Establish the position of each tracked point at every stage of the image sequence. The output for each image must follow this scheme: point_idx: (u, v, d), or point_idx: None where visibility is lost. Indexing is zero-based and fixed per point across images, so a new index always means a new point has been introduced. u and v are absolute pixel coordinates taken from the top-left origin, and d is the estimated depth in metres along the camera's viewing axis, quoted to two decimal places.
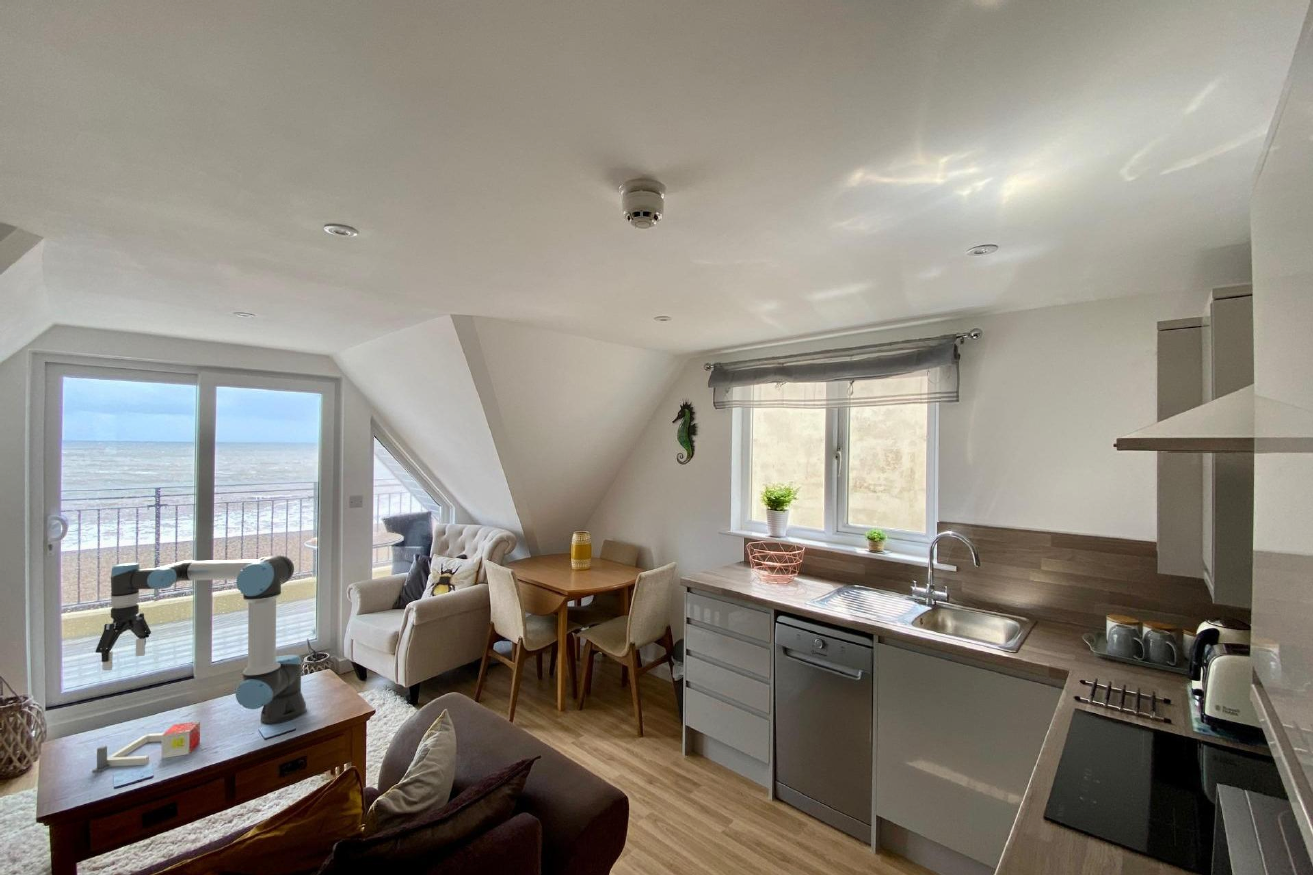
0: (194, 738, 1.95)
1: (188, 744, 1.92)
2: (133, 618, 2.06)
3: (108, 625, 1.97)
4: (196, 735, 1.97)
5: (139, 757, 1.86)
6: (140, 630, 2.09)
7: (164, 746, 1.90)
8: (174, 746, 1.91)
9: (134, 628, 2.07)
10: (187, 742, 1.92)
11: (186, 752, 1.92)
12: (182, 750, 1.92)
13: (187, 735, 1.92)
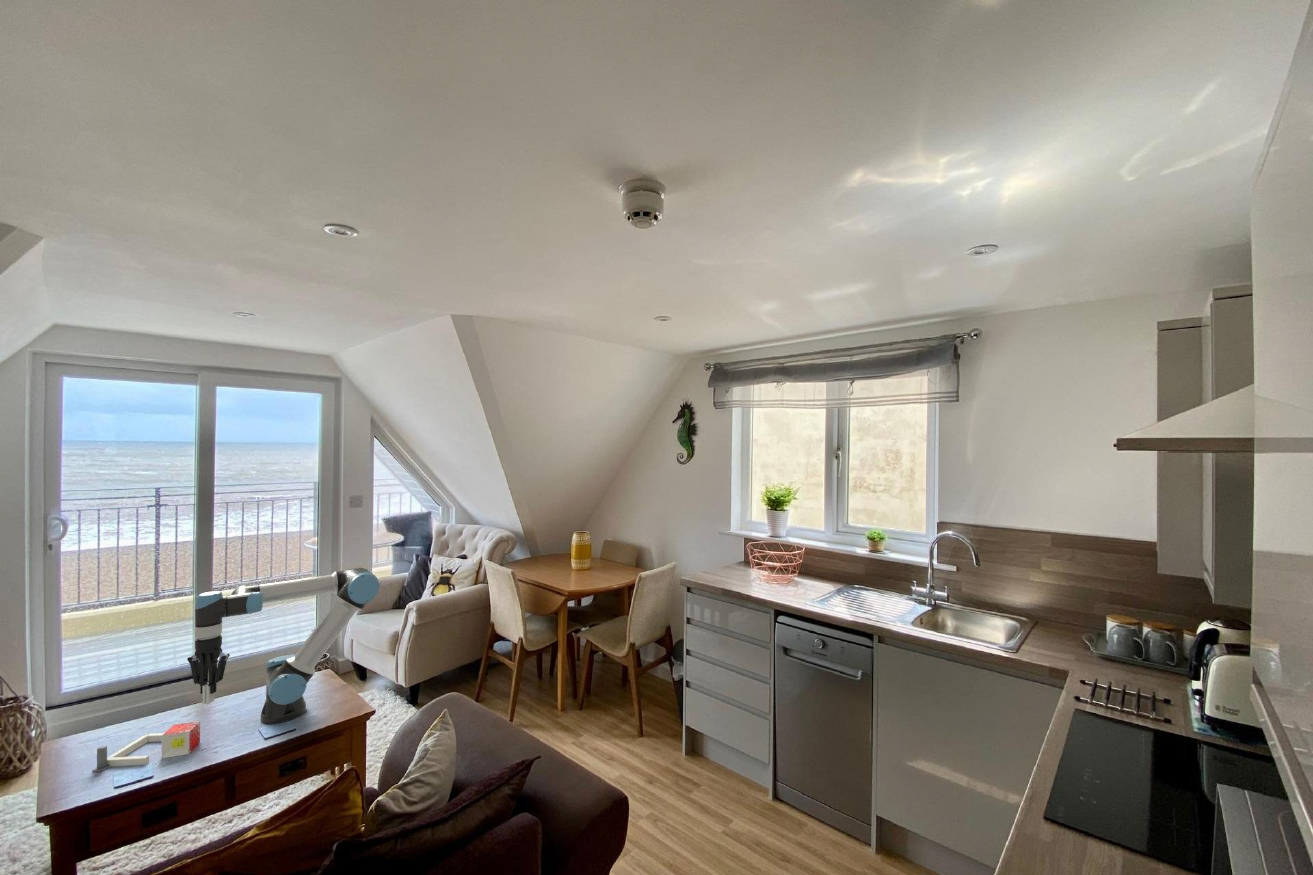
0: (194, 738, 1.95)
1: (188, 744, 1.92)
2: (213, 652, 1.95)
3: None
4: (196, 735, 1.97)
5: (139, 757, 1.86)
6: (210, 672, 1.95)
7: (164, 746, 1.90)
8: (174, 746, 1.91)
9: None
10: (187, 742, 1.92)
11: (186, 752, 1.92)
12: (182, 750, 1.92)
13: (187, 735, 1.92)
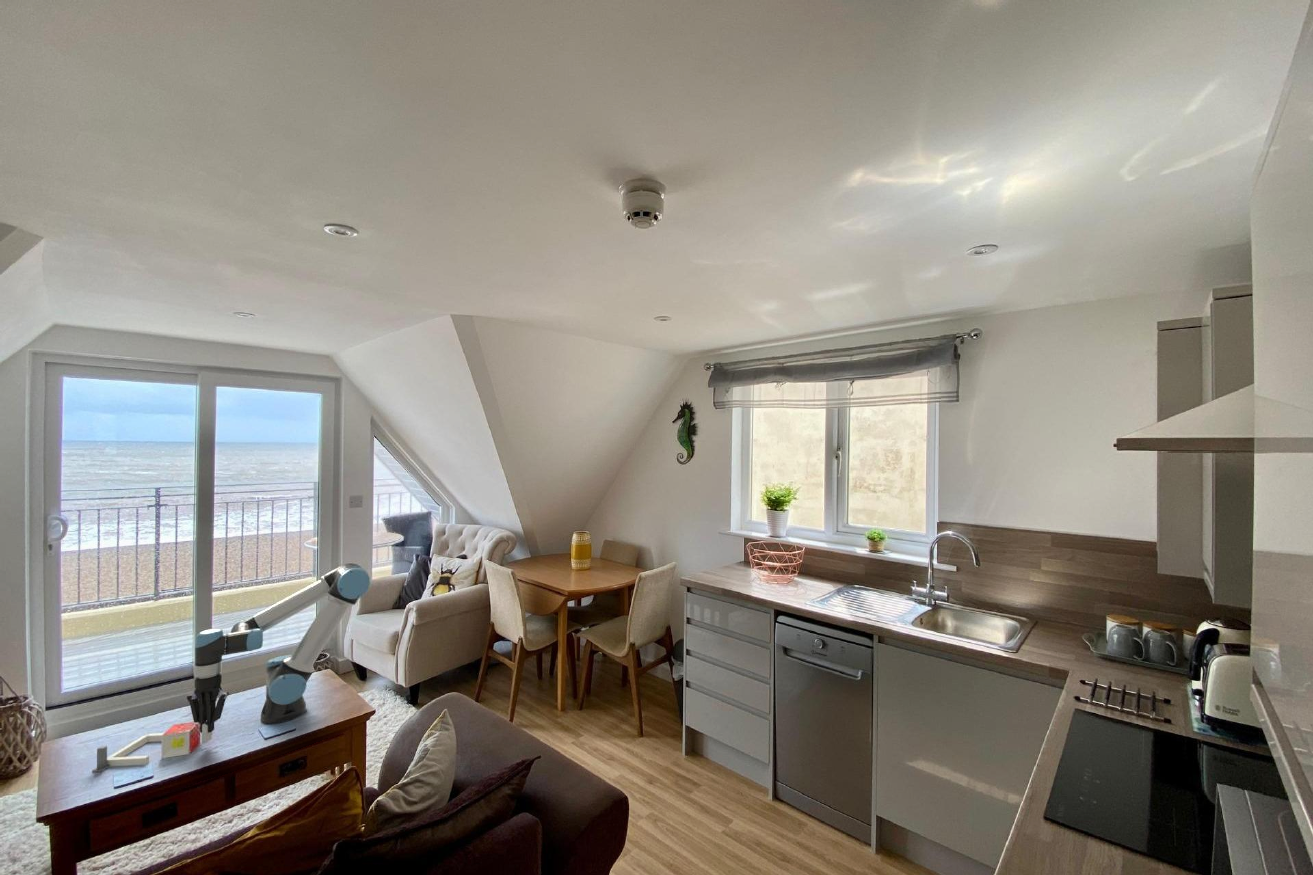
0: (194, 738, 1.95)
1: (188, 744, 1.92)
2: (212, 691, 1.95)
3: None
4: (196, 735, 1.97)
5: (139, 757, 1.86)
6: (209, 711, 1.94)
7: (164, 746, 1.90)
8: (174, 746, 1.91)
9: None
10: (187, 742, 1.92)
11: (186, 752, 1.92)
12: (182, 750, 1.92)
13: (187, 735, 1.92)
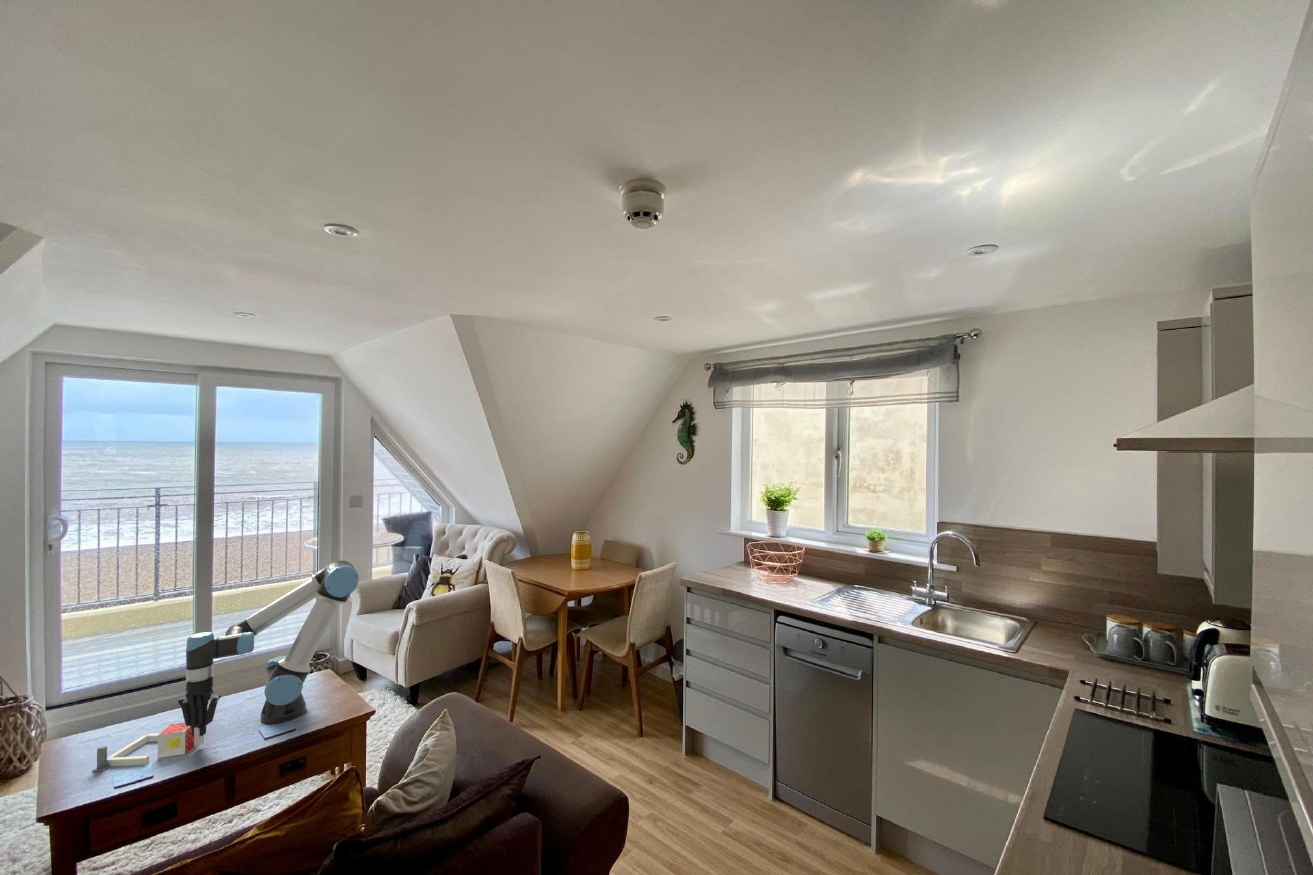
0: (190, 738, 1.95)
1: (184, 744, 1.92)
2: (204, 694, 1.94)
3: None
4: None
5: (139, 757, 1.86)
6: (200, 714, 1.94)
7: (160, 745, 1.90)
8: (170, 746, 1.91)
9: None
10: (183, 742, 1.92)
11: (182, 752, 1.92)
12: (178, 750, 1.92)
13: (183, 735, 1.92)
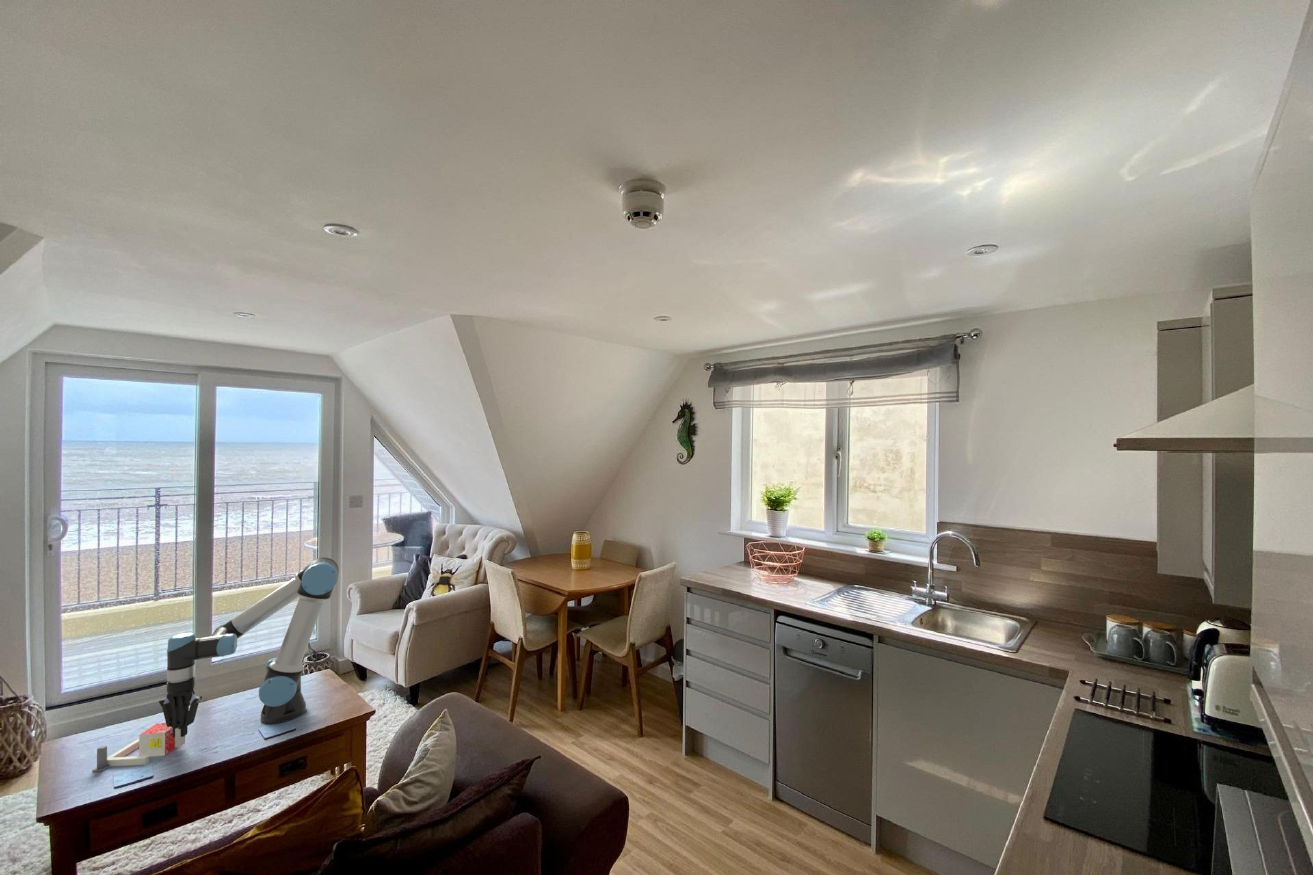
0: (172, 739, 1.95)
1: (164, 745, 1.91)
2: (185, 695, 1.94)
3: None
4: None
5: (139, 757, 1.86)
6: (181, 715, 1.93)
7: (142, 745, 1.90)
8: (152, 746, 1.91)
9: None
10: (163, 743, 1.92)
11: (162, 753, 1.91)
12: (159, 751, 1.92)
13: (163, 736, 1.92)
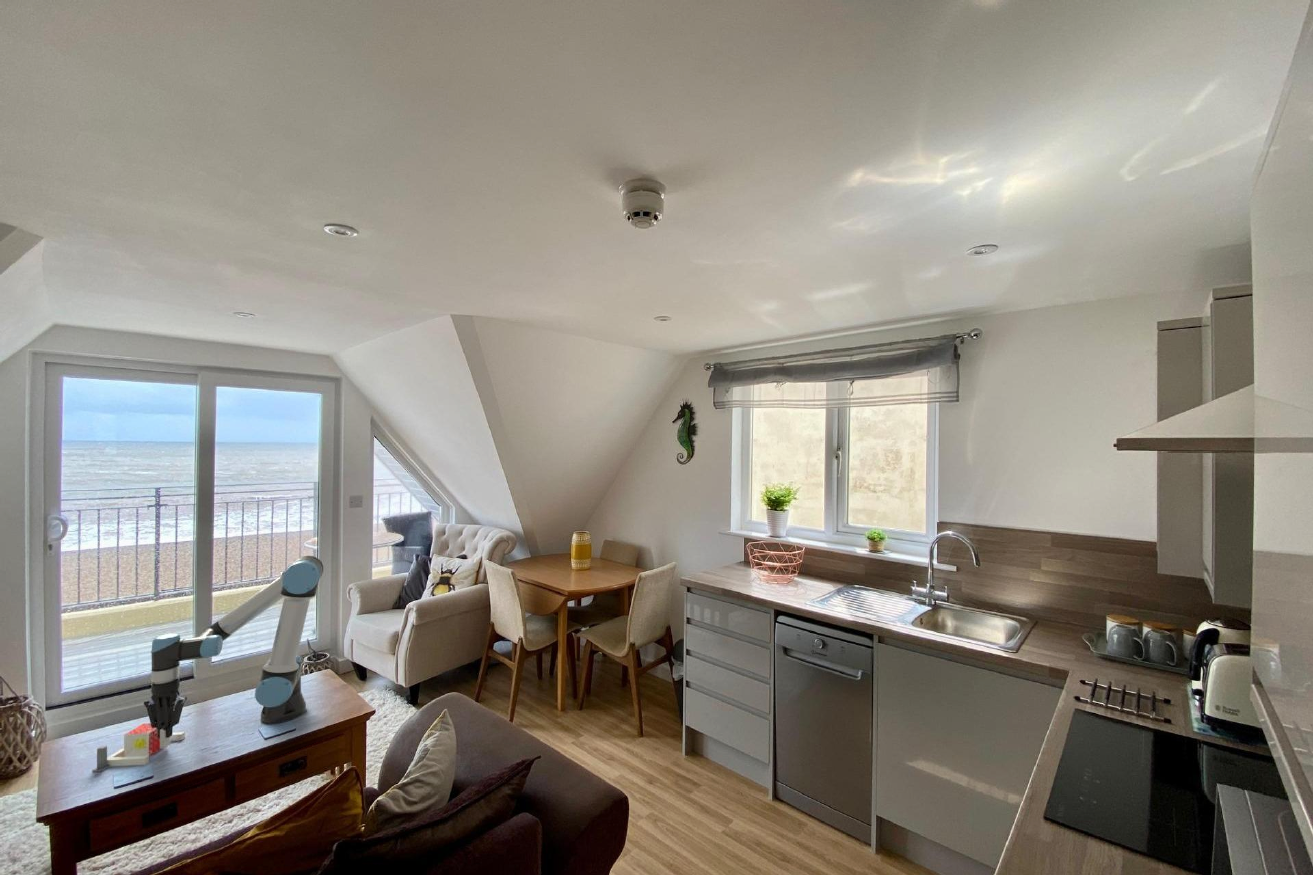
0: (157, 740, 1.94)
1: (148, 746, 1.91)
2: (170, 696, 1.93)
3: None
4: None
5: (139, 757, 1.86)
6: (166, 716, 1.93)
7: (127, 745, 1.91)
8: (136, 746, 1.91)
9: None
10: (147, 744, 1.91)
11: (146, 754, 1.91)
12: (143, 751, 1.91)
13: (147, 737, 1.91)
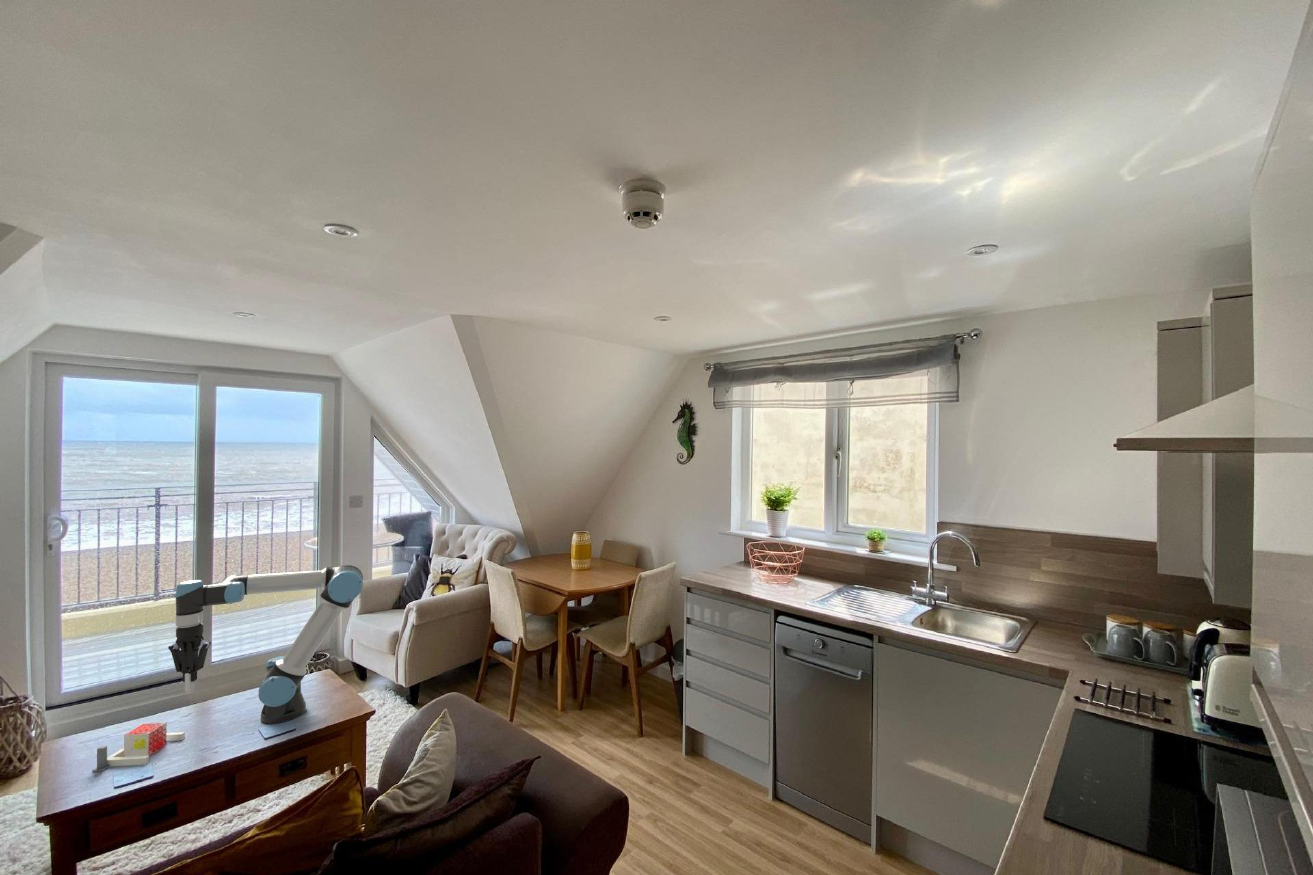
0: (157, 740, 1.94)
1: (148, 746, 1.91)
2: (194, 640, 1.96)
3: None
4: (160, 737, 1.96)
5: (139, 757, 1.86)
6: (191, 660, 1.95)
7: (127, 745, 1.91)
8: (136, 747, 1.91)
9: None
10: (147, 744, 1.91)
11: (146, 754, 1.91)
12: (143, 751, 1.91)
13: (147, 737, 1.91)
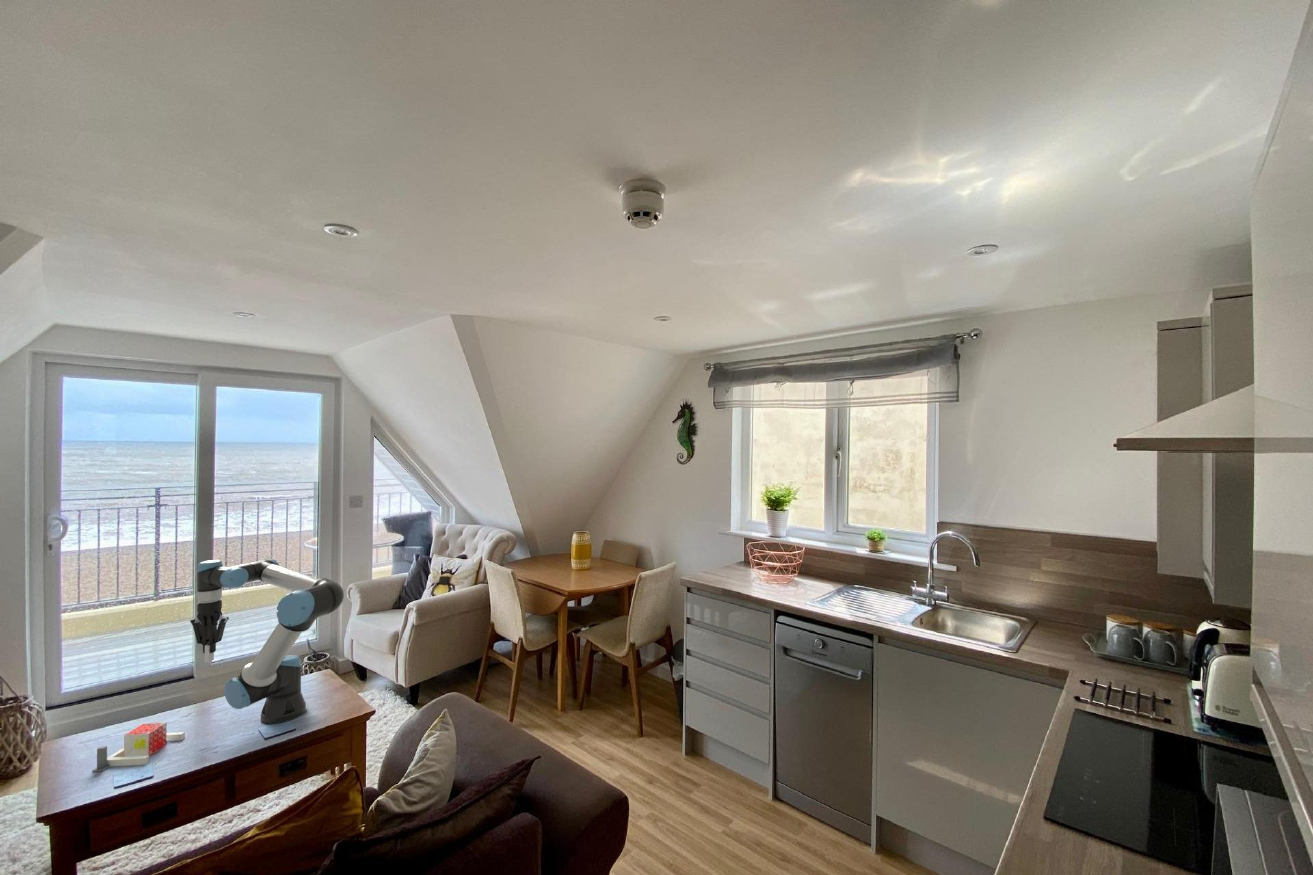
0: (157, 740, 1.94)
1: (148, 746, 1.91)
2: (213, 615, 2.13)
3: None
4: (160, 737, 1.96)
5: (139, 757, 1.86)
6: (210, 633, 2.13)
7: (127, 745, 1.91)
8: (136, 747, 1.91)
9: None
10: (147, 744, 1.91)
11: (146, 754, 1.91)
12: (143, 751, 1.91)
13: (147, 737, 1.91)
